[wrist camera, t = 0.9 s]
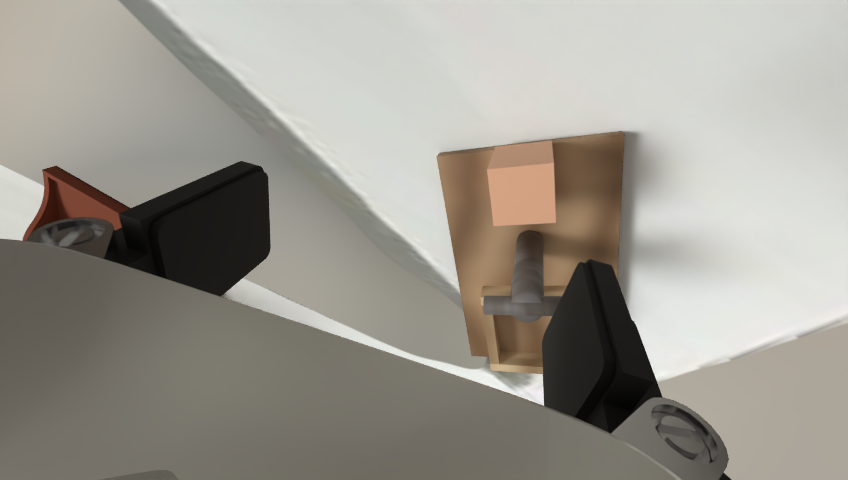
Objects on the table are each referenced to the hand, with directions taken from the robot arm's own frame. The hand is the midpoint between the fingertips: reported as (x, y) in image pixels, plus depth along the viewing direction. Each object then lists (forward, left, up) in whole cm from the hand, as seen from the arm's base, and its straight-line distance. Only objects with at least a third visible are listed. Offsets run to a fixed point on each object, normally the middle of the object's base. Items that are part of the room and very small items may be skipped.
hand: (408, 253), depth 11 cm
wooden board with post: (-2, +15, -24) cm, 29 cm away
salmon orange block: (-2, +5, -23) cm, 24 cm away
